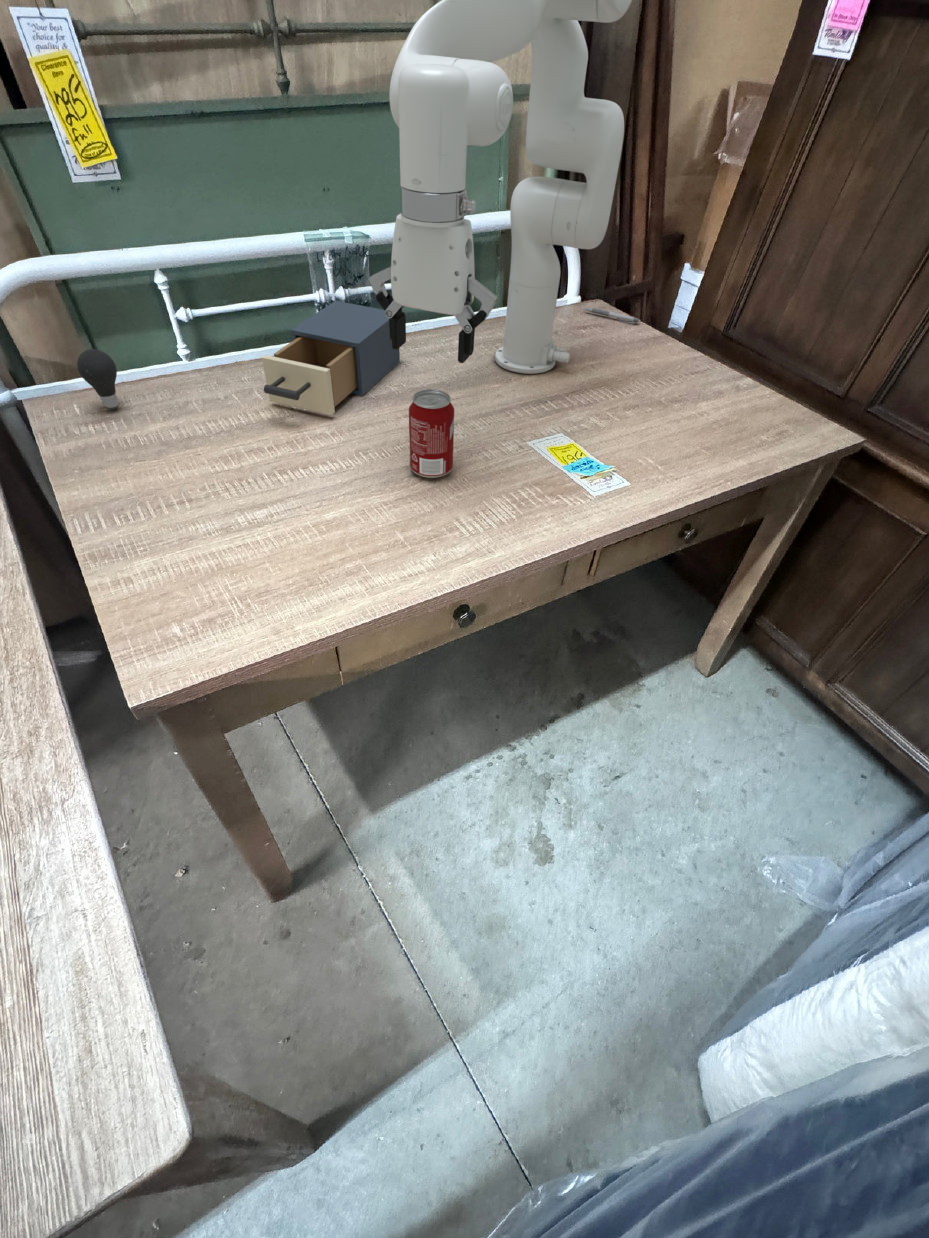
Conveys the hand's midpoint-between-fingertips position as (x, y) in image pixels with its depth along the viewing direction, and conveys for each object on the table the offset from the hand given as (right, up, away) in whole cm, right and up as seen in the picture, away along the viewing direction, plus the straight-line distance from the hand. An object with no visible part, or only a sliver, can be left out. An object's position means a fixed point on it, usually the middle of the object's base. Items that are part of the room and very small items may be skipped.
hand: (431, 352), depth 84 cm
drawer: (-23, +4, +27) cm, 36 cm away
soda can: (-1, -13, +14) cm, 19 cm away
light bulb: (-57, 0, +23) cm, 61 cm away
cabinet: (-18, +12, +37) cm, 43 cm away
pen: (+40, +35, +63) cm, 82 cm away
